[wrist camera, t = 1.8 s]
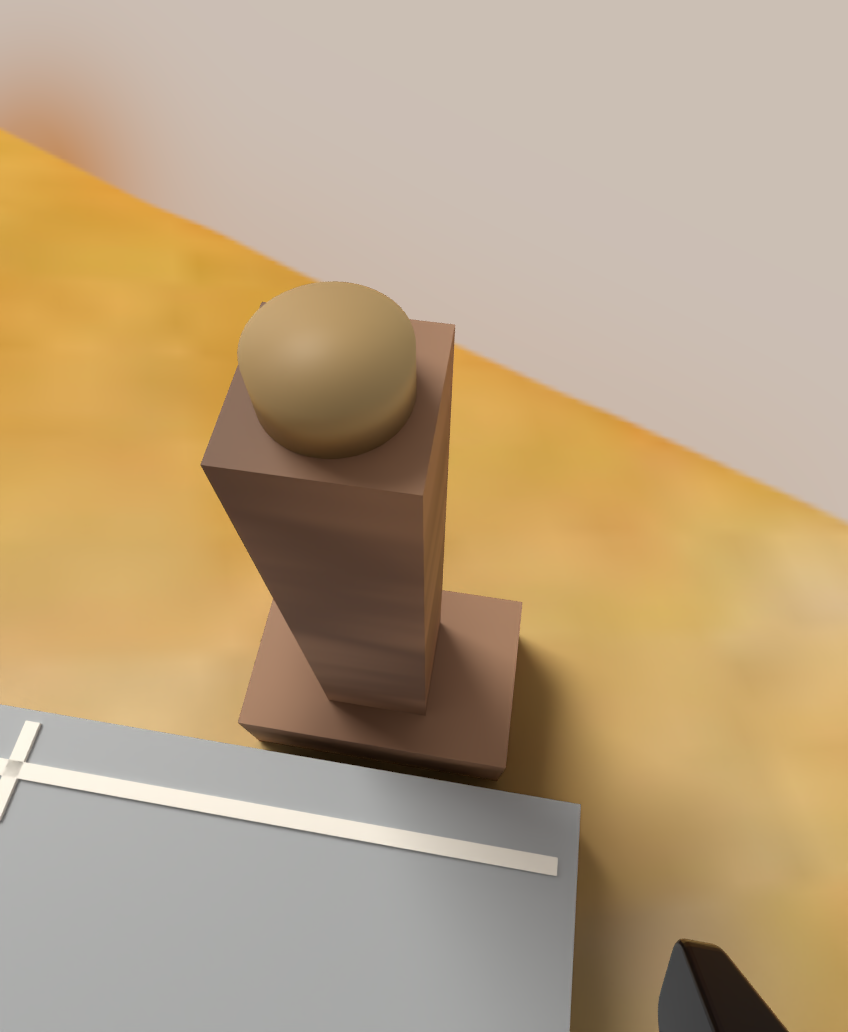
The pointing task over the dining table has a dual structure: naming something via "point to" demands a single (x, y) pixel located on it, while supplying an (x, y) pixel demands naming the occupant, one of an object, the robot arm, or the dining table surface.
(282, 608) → the newel post
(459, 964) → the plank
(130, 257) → the dining table surface
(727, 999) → the robot arm
